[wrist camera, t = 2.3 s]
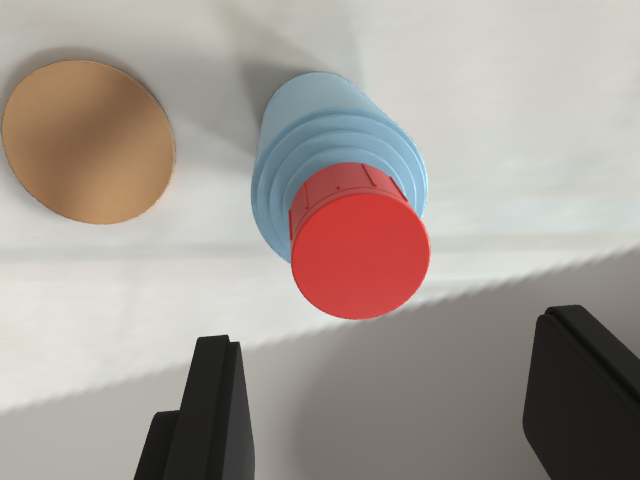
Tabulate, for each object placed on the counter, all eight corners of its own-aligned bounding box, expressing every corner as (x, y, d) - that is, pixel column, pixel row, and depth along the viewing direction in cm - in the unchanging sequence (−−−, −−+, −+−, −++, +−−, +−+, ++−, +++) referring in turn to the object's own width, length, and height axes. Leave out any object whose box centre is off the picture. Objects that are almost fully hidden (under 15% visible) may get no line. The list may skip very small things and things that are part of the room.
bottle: (393, 104, 31) (518, 200, 15) (340, 200, 34) (398, 375, 17) (292, 50, 30) (306, 90, 13) (243, 155, 32) (204, 300, 16)
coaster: (200, 108, 31) (198, 110, 30) (144, 244, 34) (141, 248, 33) (31, 27, 28) (26, 27, 28) (-12, 181, 31) (-17, 185, 31)
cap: (427, 192, 17) (458, 229, 14) (369, 287, 19) (386, 338, 16) (322, 141, 16) (331, 168, 13) (269, 244, 18) (267, 290, 15)
